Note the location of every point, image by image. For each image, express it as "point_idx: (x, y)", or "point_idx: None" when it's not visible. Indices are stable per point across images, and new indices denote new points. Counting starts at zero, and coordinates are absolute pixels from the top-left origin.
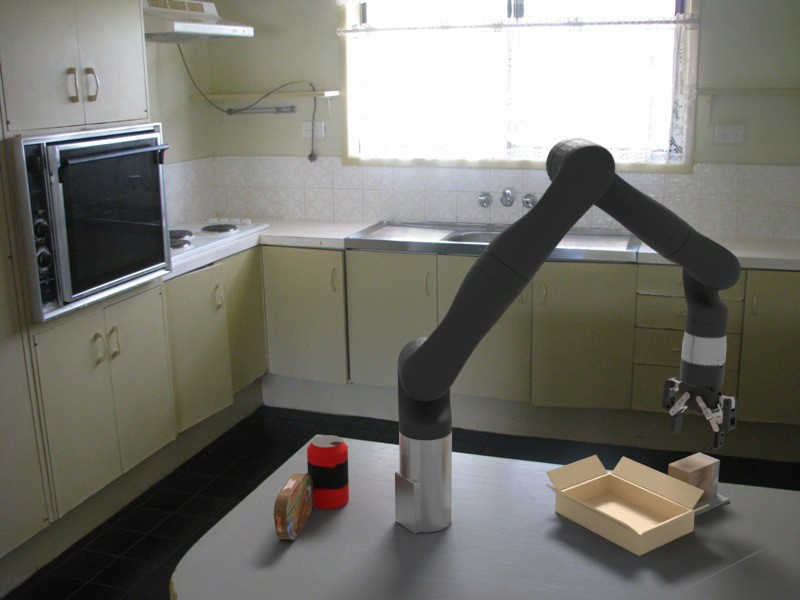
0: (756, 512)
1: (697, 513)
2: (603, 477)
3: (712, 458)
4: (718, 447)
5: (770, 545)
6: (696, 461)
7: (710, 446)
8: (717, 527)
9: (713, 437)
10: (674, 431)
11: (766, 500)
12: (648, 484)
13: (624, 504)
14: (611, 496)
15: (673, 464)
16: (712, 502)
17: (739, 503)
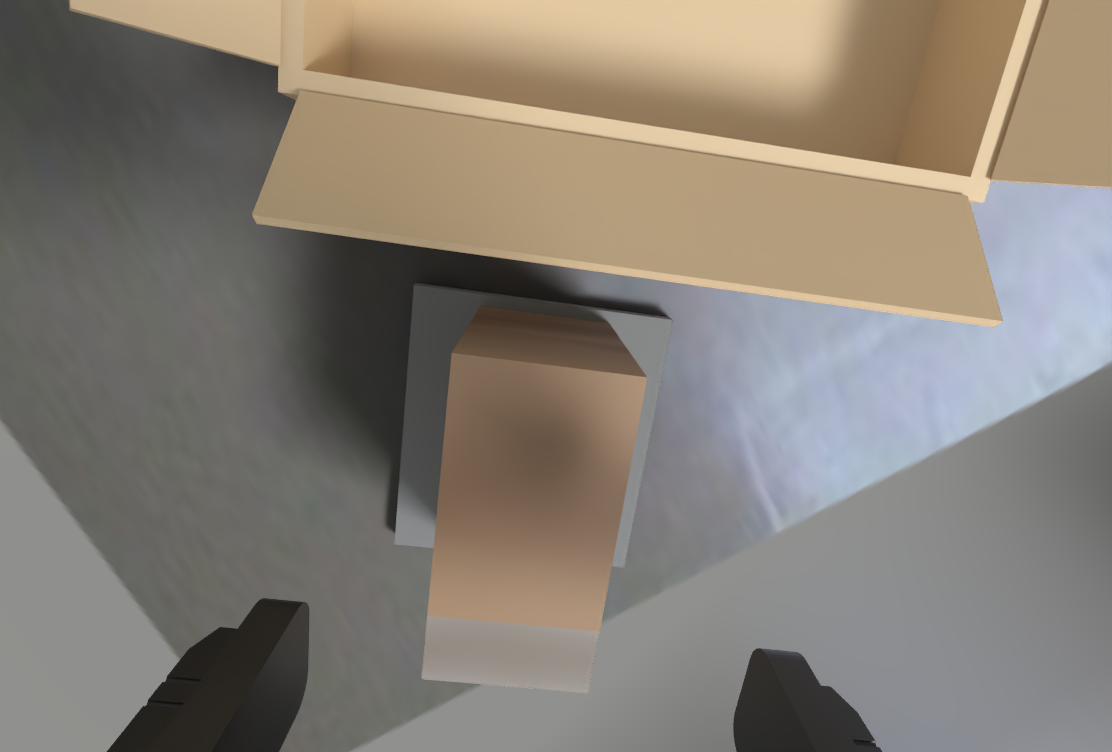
0: (258, 527)
1: (413, 298)
2: (984, 114)
3: (472, 672)
4: (210, 644)
5: (11, 277)
6: (522, 559)
7: (294, 617)
8: (282, 260)
9: (197, 714)
10: (774, 676)
11: None
12: (680, 176)
13: (754, 118)
14: (854, 150)
15: (618, 400)
16: (427, 454)
17: (358, 551)
